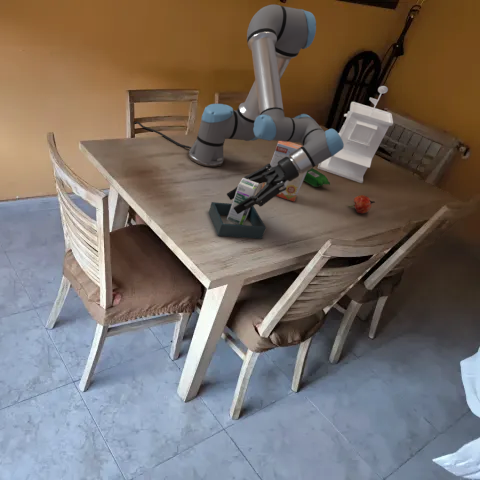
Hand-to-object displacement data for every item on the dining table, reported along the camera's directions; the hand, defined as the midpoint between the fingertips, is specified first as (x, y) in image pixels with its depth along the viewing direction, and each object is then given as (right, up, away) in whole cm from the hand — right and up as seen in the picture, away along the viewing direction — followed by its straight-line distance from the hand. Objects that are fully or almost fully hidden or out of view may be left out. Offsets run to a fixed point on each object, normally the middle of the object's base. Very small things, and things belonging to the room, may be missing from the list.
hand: (232, 203), depth 142 cm
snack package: (+42, +13, +46) cm, 64 cm away
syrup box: (+2, -5, +4) cm, 7 cm away
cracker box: (+24, +7, +31) cm, 40 cm away
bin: (+2, -7, +5) cm, 9 cm away
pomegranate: (+56, 0, +32) cm, 65 cm away
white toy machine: (+61, +24, +67) cm, 93 cm away
